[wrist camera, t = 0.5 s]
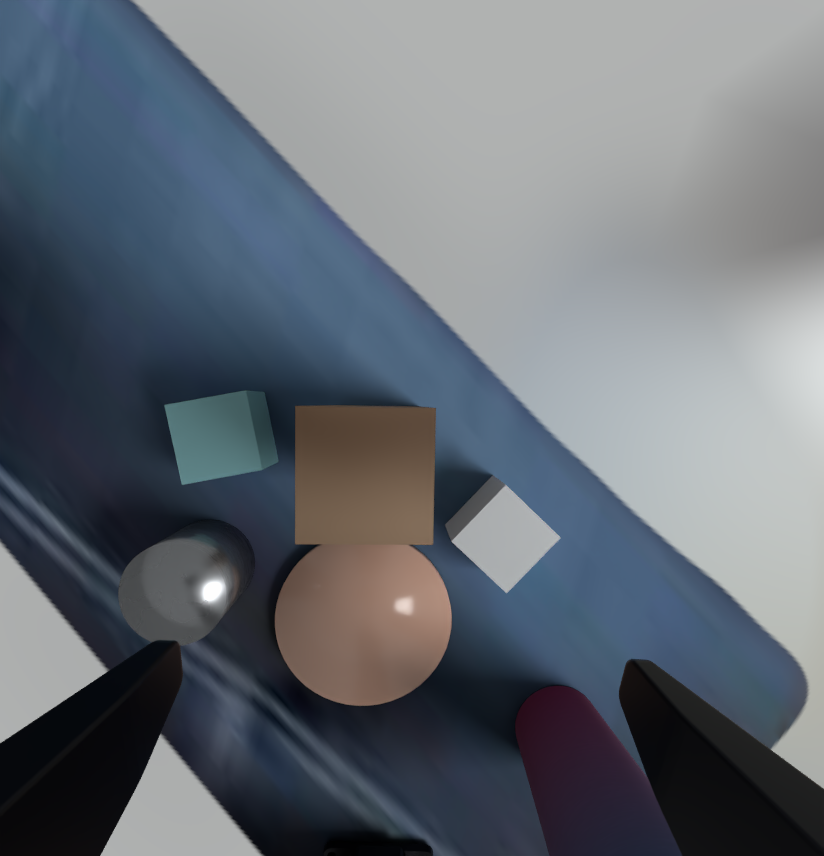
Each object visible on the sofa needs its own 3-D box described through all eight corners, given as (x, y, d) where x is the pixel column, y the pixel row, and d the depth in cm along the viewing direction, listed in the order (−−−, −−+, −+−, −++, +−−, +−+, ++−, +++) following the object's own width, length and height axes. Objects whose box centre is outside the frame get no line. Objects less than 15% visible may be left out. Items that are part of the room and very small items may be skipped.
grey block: (540, 520, 24) (560, 537, 21) (493, 569, 24) (506, 593, 21) (492, 474, 24) (505, 484, 21) (444, 523, 24) (451, 541, 21)
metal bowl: (252, 607, 24) (223, 649, 20) (163, 601, 23) (115, 642, 19) (258, 522, 23) (229, 547, 19) (168, 516, 23) (120, 539, 19)
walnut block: (417, 484, 23) (432, 544, 13) (338, 484, 23) (295, 544, 13) (419, 406, 23) (435, 408, 13) (339, 405, 23) (295, 406, 13)
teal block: (279, 461, 23) (262, 469, 20) (209, 474, 23) (182, 484, 20) (265, 392, 23) (245, 390, 20) (194, 404, 23) (164, 405, 20)
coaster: (442, 702, 24) (443, 710, 24) (272, 693, 24) (269, 700, 23) (457, 538, 24) (459, 541, 23) (284, 525, 23) (280, 528, 23)
